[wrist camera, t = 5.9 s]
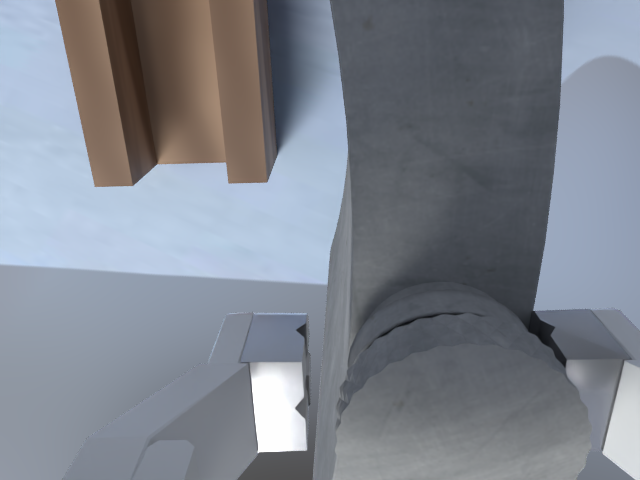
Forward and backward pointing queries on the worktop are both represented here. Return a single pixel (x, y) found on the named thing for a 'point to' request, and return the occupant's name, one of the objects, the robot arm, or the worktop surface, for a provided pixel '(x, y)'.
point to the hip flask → (445, 248)
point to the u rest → (172, 85)
